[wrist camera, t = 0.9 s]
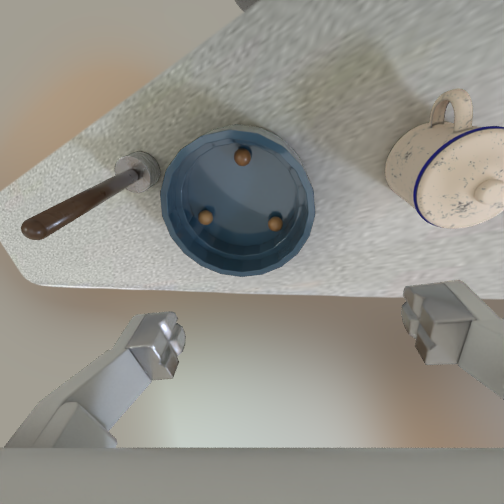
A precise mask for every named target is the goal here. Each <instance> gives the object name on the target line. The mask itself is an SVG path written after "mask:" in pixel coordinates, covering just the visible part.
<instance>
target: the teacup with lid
mask: <svg viewBox="0 0 504 504" xmlns="http://www.w3.org/2000/svg"><path fill="white" fill-rule="evenodd" d="M449 102H451V104H452V106H453V109H454V115H455V120H454V123H450V122H444V118H445V111H446V108H447V105H448V104H449ZM472 118H473V105H472V101H471V98H470V96H469V94H468V93H467V92H466V91H465V90H463V89H453V90H450V91H447V92H445V93H443V94H442V95H441V96H439V97H438V99H437V100H436V101H435V103H434V105H433V107H432V110H431V114H430V122H428V123H425V124H422V125H419V126H417V127H415V128H413V129H412V130H410V131H409V132H407V133H406V134H405V135H404V136H403V137H401V138H400V139H399V140H398V142H397V143H396V144H395V145H394V147H393V148H392V150H391V152H390V154H389V156H388V158H387V161H386V166H385V177H386V181H387V183H388V185H389V187H390V188H391V189H392V190H393V191H394V192H395V193H396V194H397V195H399V196H400V197H401V198H402V199H404V200H405V201H406V202H407V203H409V204H410V205H411V206H412V207H413V208H415V209H416V210H417V212H418V214H419V215H420V216H421V217H422V218H423V219H424V220H425V221H427V222H428V223H430V224H432V225H435V226H438V227H443V228H450V229H457V228H466V227H470V226H474V225H477V224H480V223H483V222H485V221H487V220H489V219H491V218H493V217H495V216H496V215H498V214H499V213H501V212H502V211H504V127H499V126H488V127H476V126H472Z"/></svg>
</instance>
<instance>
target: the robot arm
mask: <svg viewBox="0 0 504 504" xmlns="http://www.w3.org/2000/svg"><path fill="white" fill-rule="evenodd" d="M403 296H404V298H405V300H406V302H405V303H404V304H403V305H402V311H401V314H402V320H403V324H404V326H405V329H406V330H407V332H408V334H409V335H410V336H412V337H414V338H415V339H416V343H415V347H416V349H417V350H418V352H419V354H420V356H421V357H422V359H423V361H424V363H425V364H426V365H437V364H438V365H439V364H458V366H459V367H460V368H462V369H463V370H465V371H466V372H467V373H468V374H470V375H471V376H472V377H474V378H475V379H477V380H478V381H479V382H481V383H482V384H483V385H485V386H486V387H487V388H489V389H490V390H491V391H493V392H494V393H495V394H497V395H498V396H499V397H501V398H502V399H503V400H504V318H500V317H499V316H498V315H497V314H496V313H495V312H493V311H492V309H491V308H489V307H488V306H487V305H486V304H485V303H484V302H483V301H482V300H481V299H480V298H479V297H478V296H477V295H476V294H475V293H474V292H473V291H472V290H471V289H470V288H469V287H468V286H467V285H466V284H465V283H464V282H463V281H460V280H454V281H445V282H440V283H430V284H421V285H413V286H406V287H405V289H404V292H403ZM177 320H178V318H177V316H176V314H175V313H174V312H159V313H148V314H137V315H135V316H133V317H132V319H131V320H130V322H129V323H128V325H127V327H126V328H125V330H124V331H123V333H122V334H121V336H120V337H119V339H118V340H117V342H116V343H115V345H114V347H113V348H112V349H111V350H107V351H106V352H105V353H104V354H102V355H101V356H99V357H98V358H96V359H95V360H94V361H93V362H91V363H90V364H89V365H87V366H86V367H85V368H83V369H82V370H81V371H79V372H78V373H77V374H75V375H74V376H73V377H71V378H70V379H69V380H67V381H66V382H65V383H63V384H62V385H61V386H59V387H58V388H57V389H56V390H54V391H53V392H52V393H50V394H49V395H48V396H46V397H45V398H44V399H42V400H41V401H40V402H39V403H38V404H37V405H36V406H35V408H34V409H33V410H32V412H31V413H30V414H29V416H28V417H27V418H26V420H25V421H24V422H23V423H22V425H21V426H20V427H19V428H18V430H17V431H16V432H15V434H14V435H13V436H12V437H11V439H10V440H9V441H8V443H7V444H6V445H5V446H4V448H0V504H504V448H116V445H117V440H116V438H115V437H114V436H113V435H111V434H110V433H109V432H108V431H109V430H110V429H111V428H112V426H113V425H114V424H115V423H116V422H117V421H118V420H119V418H120V417H121V416H122V415H123V414H124V413H125V412H126V410H127V409H128V408H129V407H130V406H131V405H132V404H133V402H134V401H135V400H136V399H137V398H138V397H139V396H140V394H141V393H142V392H143V391H144V390H145V389H146V388H147V386H148V385H149V384H150V383H151V380H162V379H172V378H173V377H174V374H175V371H176V369H177V366H178V363H179V361H178V358H177V356H178V355H179V354H180V353H181V352H183V349H184V346H185V339H186V336H185V332H184V329H183V327H182V326H180V325H179V324H178V323H176V322H177Z"/></svg>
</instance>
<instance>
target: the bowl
mask: <svg viewBox="0 0 504 504" xmlns="http://www.w3.org/2000/svg"><path fill="white" fill-rule="evenodd" d="M240 148H245V149H247V150H248V151H249V152H250V155H251V160H250V162H249V164H248V165H246V166H239V165H238V164H236V162H235V160H234V154H235V152H236V151H237V150H238V149H240ZM160 197H161V209H162V217H163V219H164V222H165V224H166V226H167V229H168V231H169V234H170V236H171V237H172V239H173V240H174V241H175V242H176V244H177V245H178V246H179V247H180V249H181V250H182V251H183V252H184V254H186V255H187V256H188V257H190V258H191V259H193V260H194V261H195V262H197V263H198V264H199V265H201V266H203V267H205V268H208V269H210V270H213V271H215V272H217V273H220V274H225V275H232V276H239V277H245V276H253V275H262V274H265V273H267V272H270V271H272V270H275V269H277V268H280V267H282V266H283V265H284V264H285V263H287V262H288V261H289V260H291V259H292V258H293V257H294V256H296V255H297V254H298V253H299V251H300V250H301V248H302V247H303V245H304V244H305V242H306V241H307V239H308V238H309V236H310V232H311V229H312V225H313V221H314V217H315V203H314V191H313V188H312V185H311V183H310V180H309V178H308V175H307V173H306V171H305V169H304V166H303V164H302V162H301V160H300V157H299V156H298V154H297V153H296V152H295V151H294V150H293V149H292V148H291V147H290V146H289V145H288V144H287V143H286V142H285V141H284V140H283V139H282V138H280V137H278V136H277V135H275V134H273V133H271V132H269V131H267V130H265V129H263V128H261V127H255V126H247V125H240V124H235V125H230V126H226V127H221V128H217V129H213V130H211V131H209V132H208V133H206V134H204V135H202V136H200V137H199V138H197V139H196V140H194V141H193V142H191V143H190V144H188V145H187V146H185V147H184V148H182V149H181V150H180V151H179V152H178V154H177V155H176V157H175V158H174V159H173V161H172V162H171V164H170V165H169V167H168V168H167V169H166V172H165V176H164V180H163V184H162V188H161V191H160ZM203 210H208V211H210V212H211V213H212V215H213V220H212V222H211V223H210V224H208V225H203V224H201V223H200V222H199V220H198V215H199V213H200V212H201V211H203ZM272 217H279V218H281V220H282V222H283V226H282V228H281V229H280V230H279V231H272V230H270V229H269V227H268V221H269V220H270V218H272Z"/></svg>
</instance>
